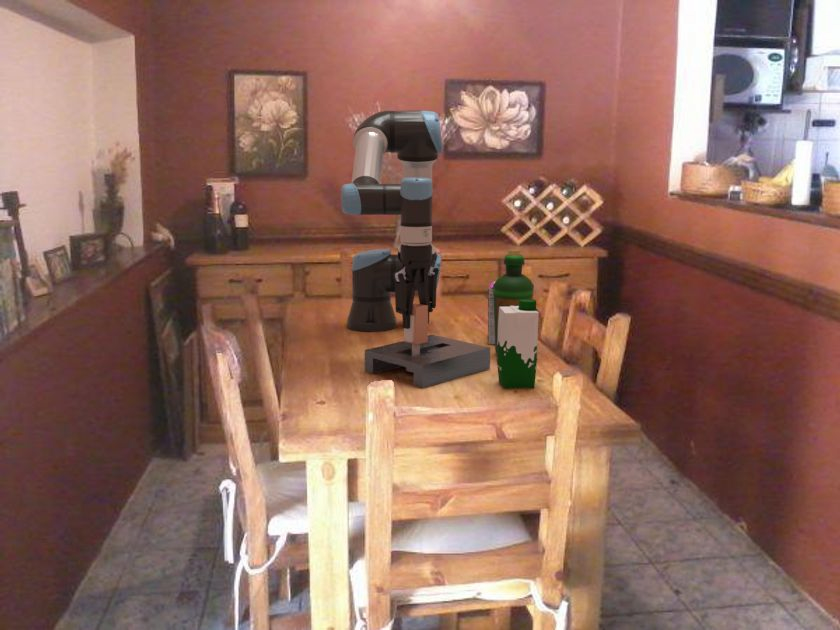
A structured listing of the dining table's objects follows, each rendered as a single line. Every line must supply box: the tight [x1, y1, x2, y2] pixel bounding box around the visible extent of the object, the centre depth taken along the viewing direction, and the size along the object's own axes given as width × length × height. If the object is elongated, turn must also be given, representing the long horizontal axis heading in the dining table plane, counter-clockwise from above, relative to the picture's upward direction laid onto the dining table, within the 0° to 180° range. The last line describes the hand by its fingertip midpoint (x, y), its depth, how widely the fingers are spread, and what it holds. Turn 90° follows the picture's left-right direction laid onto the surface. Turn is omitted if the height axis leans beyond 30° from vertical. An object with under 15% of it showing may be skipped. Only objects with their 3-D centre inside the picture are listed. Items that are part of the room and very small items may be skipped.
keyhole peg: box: [403, 303, 429, 373], centre depth 204 cm, size 5×5×16 cm
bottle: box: [493, 249, 535, 355], centre depth 221 cm, size 11×11×28 cm
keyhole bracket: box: [364, 334, 491, 389], centre depth 208 cm, size 20×24×6 cm
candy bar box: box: [487, 280, 496, 346], centre depth 238 cm, size 11×5×16 cm, turn 168°
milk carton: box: [496, 298, 540, 389], centre depth 195 cm, size 9×9×20 cm
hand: (415, 339), depth 204 cm, fingers closed on keyhole peg, 4 cm apart
